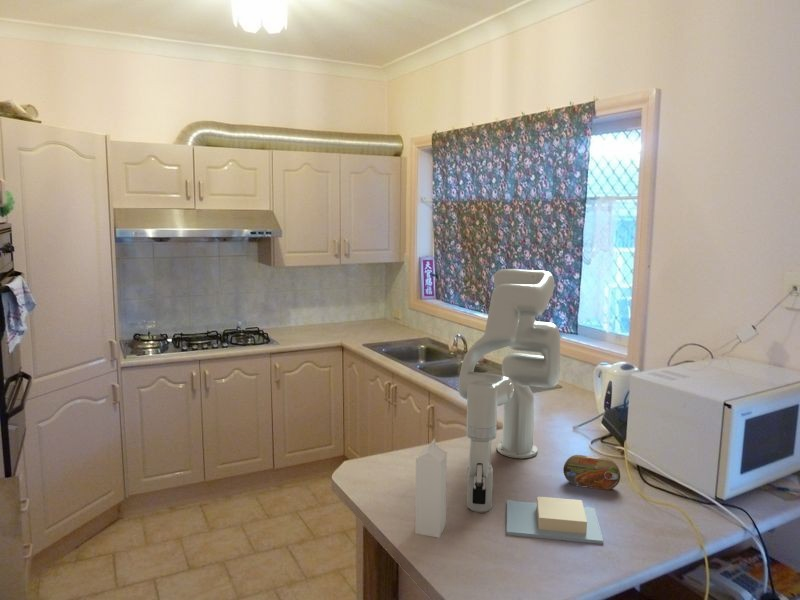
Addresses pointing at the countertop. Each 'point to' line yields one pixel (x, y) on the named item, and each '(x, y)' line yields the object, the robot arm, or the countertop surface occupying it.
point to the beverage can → (488, 486)
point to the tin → (592, 472)
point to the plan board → (530, 526)
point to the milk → (431, 491)
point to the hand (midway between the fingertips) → (479, 496)
